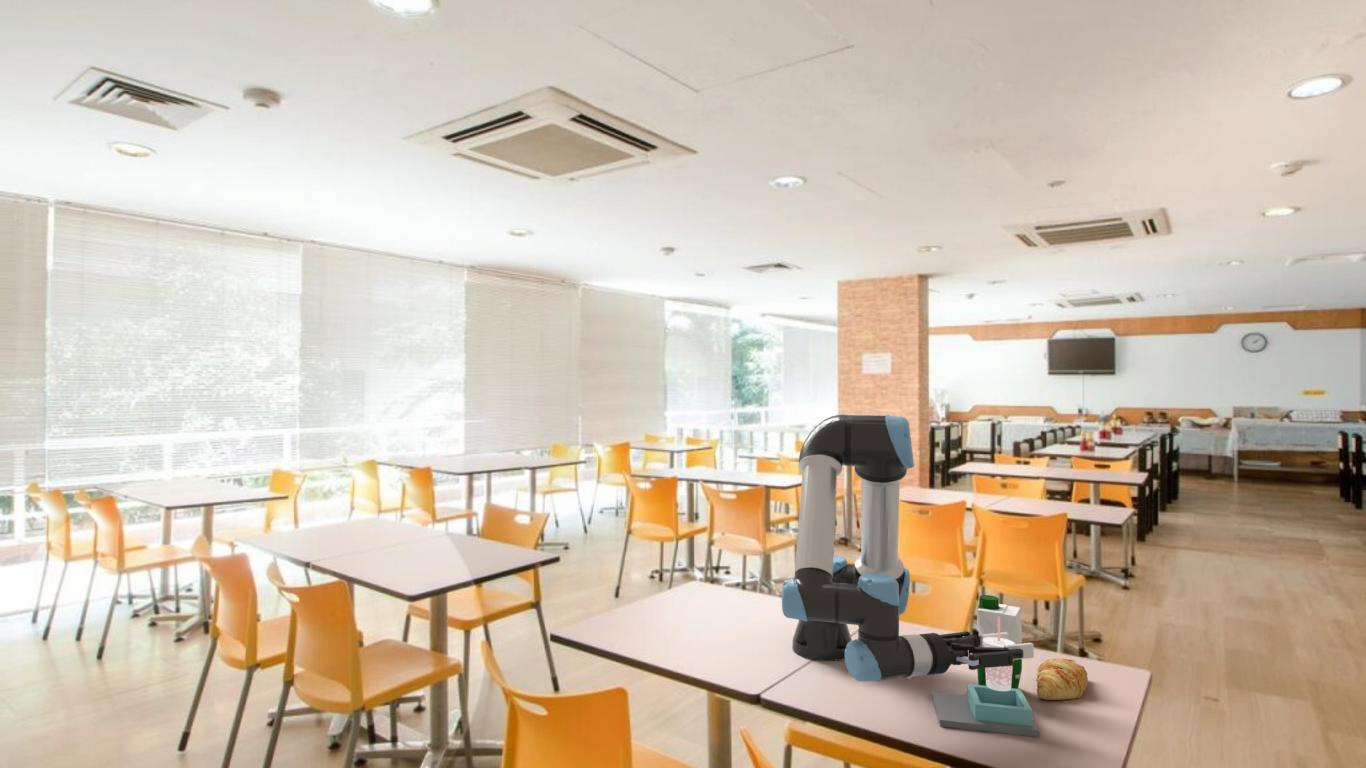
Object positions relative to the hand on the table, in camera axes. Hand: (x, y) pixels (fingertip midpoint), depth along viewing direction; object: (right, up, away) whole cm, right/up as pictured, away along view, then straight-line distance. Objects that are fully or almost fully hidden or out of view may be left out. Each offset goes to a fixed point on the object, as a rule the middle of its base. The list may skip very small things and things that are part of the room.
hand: (1019, 644), depth 146 cm
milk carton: (+1, -15, +12) cm, 19 cm away
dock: (-8, -14, -1) cm, 16 cm away
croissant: (+15, -15, +13) cm, 25 cm away
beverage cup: (-5, -8, -2) cm, 10 cm away
